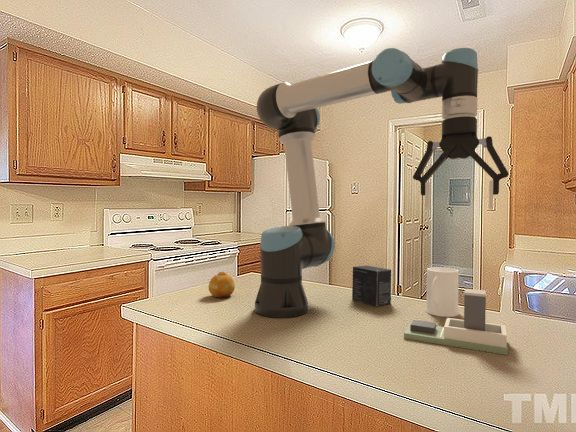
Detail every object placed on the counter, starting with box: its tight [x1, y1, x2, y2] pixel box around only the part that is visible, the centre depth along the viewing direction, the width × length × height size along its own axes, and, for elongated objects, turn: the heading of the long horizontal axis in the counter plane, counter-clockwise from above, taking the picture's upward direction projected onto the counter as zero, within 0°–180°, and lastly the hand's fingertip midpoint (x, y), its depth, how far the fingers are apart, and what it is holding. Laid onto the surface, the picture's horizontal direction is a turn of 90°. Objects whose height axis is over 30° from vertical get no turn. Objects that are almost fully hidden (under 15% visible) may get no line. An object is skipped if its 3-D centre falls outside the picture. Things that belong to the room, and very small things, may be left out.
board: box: [403, 319, 509, 356], centre depth 82 cm, size 20×8×3 cm, turn 62°
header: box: [443, 317, 508, 348], centre depth 80 cm, size 12×7×2 cm, turn 62°
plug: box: [463, 288, 487, 331], centre depth 80 cm, size 4×4×10 cm
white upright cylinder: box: [425, 266, 460, 318], centre depth 101 cm, size 12×8×12 cm
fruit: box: [208, 271, 236, 298], centre depth 121 cm, size 8×8×8 cm
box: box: [351, 265, 392, 307], centre depth 114 cm, size 11×7×10 cm, turn 34°
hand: (458, 209), depth 88 cm, fingers open, 13 cm apart
